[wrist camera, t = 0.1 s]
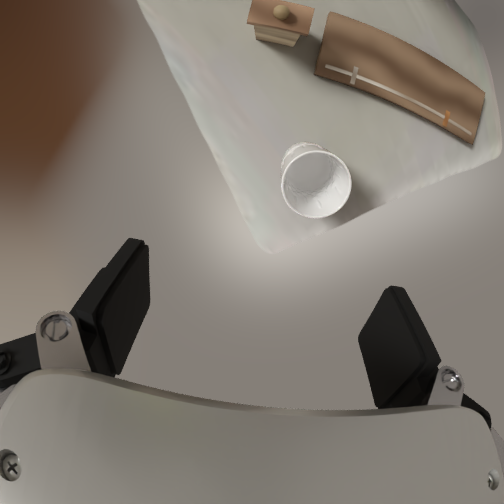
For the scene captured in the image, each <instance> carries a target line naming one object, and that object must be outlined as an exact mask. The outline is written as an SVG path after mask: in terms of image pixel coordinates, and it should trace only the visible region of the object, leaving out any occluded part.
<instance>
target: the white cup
mask: <svg viewBox="0 0 504 504" xmlns="http://www.w3.org/2000/svg"><path fill="white" fill-rule="evenodd" d="M351 187H352V180H351V175H350V172H349V170H348V168H347V166H346V165H345V163H344V162H343V161H342V160H341V159H340V158H339V157H337V156H336V155H334V154H333V153H331V152H330V151H328V150H326V149H325V148H323V147H321V146H319V145H317V144H314V143H310V142H301V143H297V144H294V145H293V146H291V147H290V148H289V149H288V150H287V151H286V152H285V154H284V157H283V159H282V165H281V189H282V194H283V197H284V199H285V201H286V203H287V204H288V206H289V207H290V208H291V209H292V210H293V211H294V212H296V213H297V214H299V215H301V216H304V217H307V218H324V217H327V216H330V215H332V214H334V213H336V212H337V211H338V210H340V209H341V208H342V207H343V206H344V204H345V203H346V202H347V200H348V198H349V195H350V192H351Z"/></svg>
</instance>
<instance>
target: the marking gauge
mask: <svg viewBox="0 0 504 504" xmlns="http://www.w3.org/2000/svg"><path fill="white" fill-rule="evenodd" d="M313 13H314V8H311V7H307V6H303V5H299V4H295V3H290V2H286V1H281V0H253V1H252V4H251V8H250V12H249V15H248V19H247V24H251V25H254V29H255V35H256V39H257V40H263V41H268V42H273V43H278V44H282V45H287V46H291V47H294V45H295V43H296V41H297V40H298V38H299V36H300V35H304V36H308V34H309V29H310V25H311V21H312V17H313Z"/></svg>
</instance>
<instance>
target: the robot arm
mask: <svg viewBox="0 0 504 504" xmlns="http://www.w3.org/2000/svg"><path fill="white" fill-rule="evenodd" d="M149 306H150V283H149V248H148V245H145V243H144V241H143V240H138V239H133V238H129V239H128V240H127V241H126V242H125V243H124V244H123V246H122V247H121V248H120V250H119V251H118V252H117V253H116V254H115V256H114V257H113V258H112V260H111V261H110V262H109V263H108V265H107V266H106V267H105V268H102V269H101V270H100V271H99V272H98V274H97V275H96V276H95V278H94V279H93V280H92V282H91V283H90V284H89V286H88V287H87V289H86V290H85V291H84V293H83V294H82V295H81V297H80V298H79V300H78V301H77V302H76V304H75V305H74V307H73V308H72V310H71V311H70V313H67V312H64V311H53V312H50V313H47V314H46V315H44V316H43V317H42V318H41V319H40V320H39V321H38V323H37V326H36V333H34V334H31V335H28V336H25V337H22V338H19V339H15V340H13V341H10V342H6V343H3V344H0V504H504V441H503V439H502V438H501V437H500V436H499V434H498V433H497V432H496V430H495V429H494V428H492V429H491V418H490V414H489V413H488V411H486V410H485V409H484V408H483V407H481V406H480V405H479V404H477V403H476V402H475V401H473V400H472V399H471V398H469V397H468V396H467V395H465V394H464V393H463V392H464V382H463V379H462V377H461V375H460V374H459V373H458V372H457V371H456V370H455V369H454V368H452V367H449V366H443V367H441V368H440V369H438V367H437V366H438V365H439V363H440V362H441V359H440V357H439V354H438V352H437V350H436V348H435V346H434V344H433V342H432V340H431V338H430V336H429V334H428V332H427V330H426V328H425V326H424V324H423V322H422V320H421V318H420V316H419V314H418V313H417V311H416V309H415V307H414V305H413V304H412V301H411V300H410V298H409V296H408V294H407V292H406V291H405V289H404V288H402V287H397V286H390V287H388V288H387V289H385V290H384V292H383V294H382V296H381V297H380V299H379V301H378V303H377V304H376V306H375V308H374V310H373V312H372V313H371V315H370V317H369V319H368V320H367V322H366V324H365V325H364V327H363V329H362V330H361V332H360V334H359V337H358V342H359V345H360V349H361V352H362V356H363V360H364V364H365V367H366V371H367V375H368V379H369V382H370V387H371V391H372V394H373V399H374V403H375V405H376V407H378V409H371V410H305V409H287V408H274V407H263V406H254V405H246V404H238V403H230V402H223V401H217V400H211V399H205V398H200V397H194V396H189V395H184V394H179V393H175V392H171V391H165V390H161V389H157V388H153V387H149V386H145V385H141V384H137V383H133V382H129V381H125V380H122V379H118V378H114V377H115V375H116V374H117V375H119V374H120V373H121V371H122V369H123V366H124V364H125V361H126V359H127V356H128V354H129V352H130V350H131V347H132V345H133V343H134V340H135V338H136V335H137V333H138V331H139V329H140V326H141V324H142V322H143V320H144V318H145V315H146V313H147V311H148V309H149Z"/></svg>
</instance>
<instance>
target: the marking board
mask: <svg viewBox="0 0 504 504" xmlns="http://www.w3.org/2000/svg"><path fill="white" fill-rule="evenodd" d="M314 75H317V76H321V77H324V78H327V79H330V80H334V81H337V82H340V83H343V84H346V85H348V86H351V87H354V88H357V89H360V90H362V91H365V92H367V93H370V94H373V95H375V96H377V97H380V98H382V99H385V100H387V101H389V102H392V103H394V104H396V105H398V106H401V107H403V108H405V109H407V110H409V111H411V112H413V113H415V114H417V115H419V116H421V117H423V118H425V119H427V120H429V121H431V122H433V123H435V124H437V125H438V126H440V127H442V128H444V129H445V130H447V131H449V132H451V133H452V134H454V135H456V136H457V137H459V138H461V139H462V140H464V141H466V142H467V143H470V144H472V145H473V142H474V138H475V134H476V131H477V127H478V123H479V119H480V115H481V111H482V106H483V102H484V97H485V92H484V91H482V90H481V89H480V88H478V87H477V86H476V85H474V84H473V83H472V82H470V81H469V80H468V79H466V78H465V77H463V76H462V75H460V74H459V73H458V72H456V71H455V70H453V69H452V68H450V67H448V66H447V65H445V64H444V63H442V62H441V61H439V60H437V59H436V58H434V57H432V56H431V55H429V54H427V53H425V52H424V51H422V50H420V49H418V48H416V47H414V46H412V45H411V44H409V43H407V42H405V41H403V40H401V39H399V38H397V37H395V36H392V35H390V34H388V33H386V32H384V31H381V30H379V29H377V28H374V27H372V26H370V25H367V24H365V23H362V22H359V21H357V20H354V19H351V18H349V17H346V16H343V15H340V14H337V13H334V12H330V13H329V14H328V17H327V22H326V26H325V30H324V34H323V39H322V43H321V47H320V51H319V55H318V59H317V63H316V67H315V71H314Z"/></svg>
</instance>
